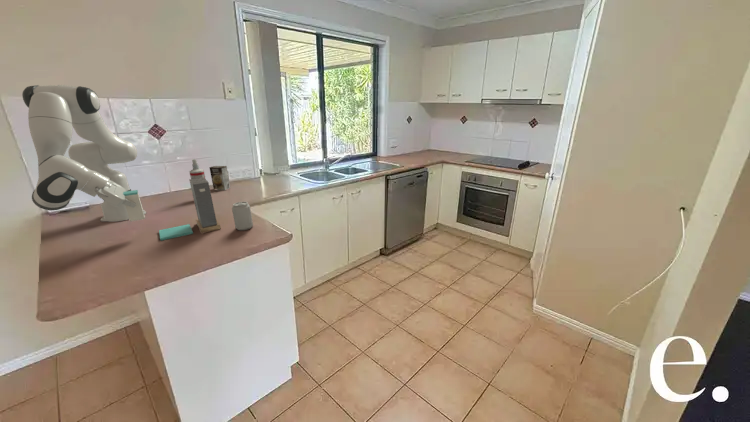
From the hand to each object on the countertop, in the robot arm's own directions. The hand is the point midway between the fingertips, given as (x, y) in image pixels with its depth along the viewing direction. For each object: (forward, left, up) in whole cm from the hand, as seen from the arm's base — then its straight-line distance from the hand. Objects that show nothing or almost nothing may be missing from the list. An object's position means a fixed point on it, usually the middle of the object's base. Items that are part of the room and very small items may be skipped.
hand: (135, 204), depth 127 cm
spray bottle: (-50, +29, -15) cm, 60 cm away
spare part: (0, -1, -6) cm, 6 cm away
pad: (+4, +11, -15) cm, 19 cm away
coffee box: (-71, +44, -15) cm, 85 cm away
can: (+18, +37, -15) cm, 44 cm away
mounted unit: (+5, +24, -15) cm, 29 cm away
